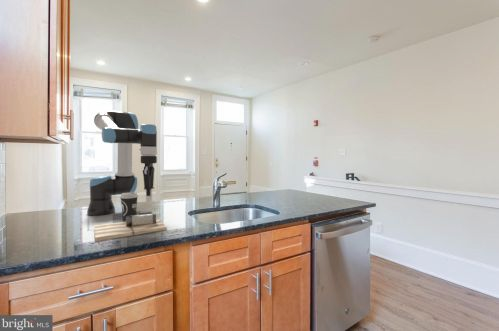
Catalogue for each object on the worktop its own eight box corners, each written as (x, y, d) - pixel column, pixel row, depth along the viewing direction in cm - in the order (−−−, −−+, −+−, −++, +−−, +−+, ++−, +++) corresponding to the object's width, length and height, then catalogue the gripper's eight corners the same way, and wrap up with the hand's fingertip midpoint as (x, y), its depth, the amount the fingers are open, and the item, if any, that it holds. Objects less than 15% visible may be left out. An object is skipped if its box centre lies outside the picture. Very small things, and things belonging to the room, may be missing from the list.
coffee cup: (131, 222, 134) (130, 195, 134) (116, 221, 136) (115, 194, 136) (142, 217, 144) (141, 192, 143) (127, 216, 146) (127, 191, 145)
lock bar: (125, 226, 120) (125, 217, 120) (126, 224, 124) (125, 215, 123) (156, 223, 127) (156, 214, 126) (155, 221, 130) (155, 212, 130)
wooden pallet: (94, 228, 122) (94, 215, 122) (157, 220, 139) (157, 208, 138) (95, 241, 105) (94, 226, 104) (166, 229, 121) (166, 216, 121)
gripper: (144, 155, 128) (145, 199, 130) (136, 155, 116) (137, 204, 117) (159, 155, 130) (159, 199, 131) (153, 155, 117) (153, 204, 118)
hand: (149, 201), depth 124 cm, fingers closed
